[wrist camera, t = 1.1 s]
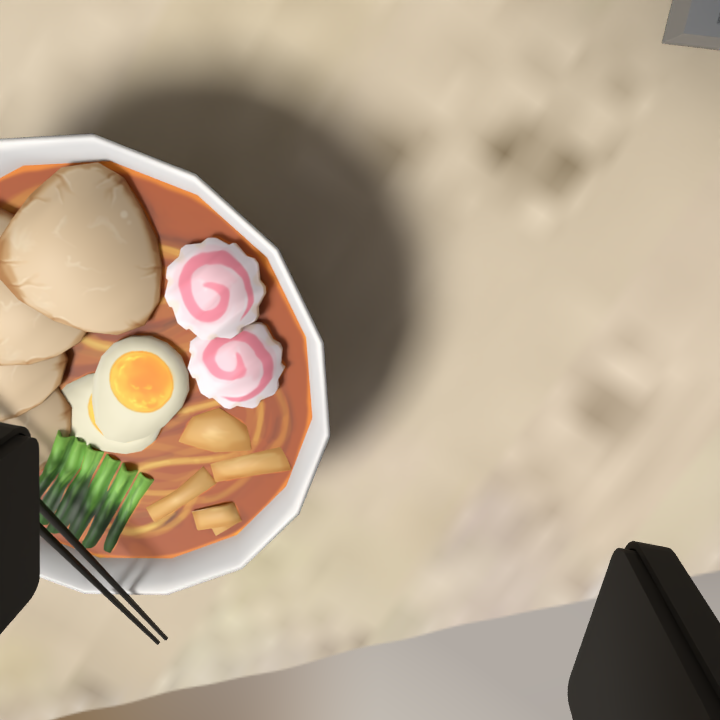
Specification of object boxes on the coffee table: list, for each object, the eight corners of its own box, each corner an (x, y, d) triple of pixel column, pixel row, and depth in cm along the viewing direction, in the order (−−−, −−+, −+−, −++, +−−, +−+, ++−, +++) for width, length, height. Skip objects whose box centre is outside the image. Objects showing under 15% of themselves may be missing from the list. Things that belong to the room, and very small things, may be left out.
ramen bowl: (439, 410, 36) (446, 481, 28) (149, 590, 41) (88, 690, 34) (153, 18, 31) (64, -29, 23) (-133, 284, 36) (-282, 318, 29)
